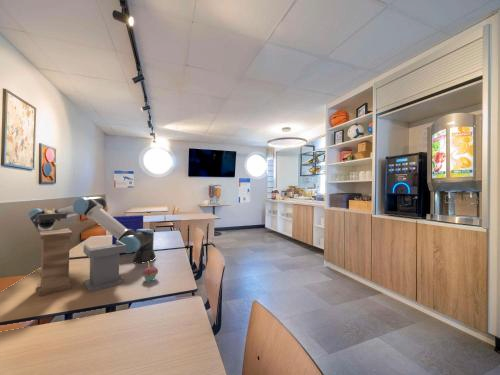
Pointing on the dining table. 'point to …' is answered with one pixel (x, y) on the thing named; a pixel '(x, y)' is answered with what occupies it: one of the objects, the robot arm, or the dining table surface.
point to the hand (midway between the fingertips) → (50, 209)
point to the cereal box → (129, 223)
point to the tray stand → (104, 266)
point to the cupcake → (150, 273)
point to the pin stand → (54, 261)
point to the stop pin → (52, 215)
